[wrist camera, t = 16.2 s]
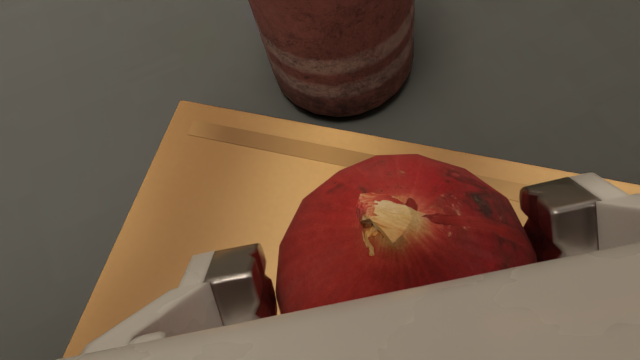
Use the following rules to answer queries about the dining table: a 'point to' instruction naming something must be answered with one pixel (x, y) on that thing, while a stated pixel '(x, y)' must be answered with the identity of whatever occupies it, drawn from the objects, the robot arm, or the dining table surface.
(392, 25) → the can
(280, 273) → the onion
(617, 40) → the dining table surface
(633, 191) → the cutting board
